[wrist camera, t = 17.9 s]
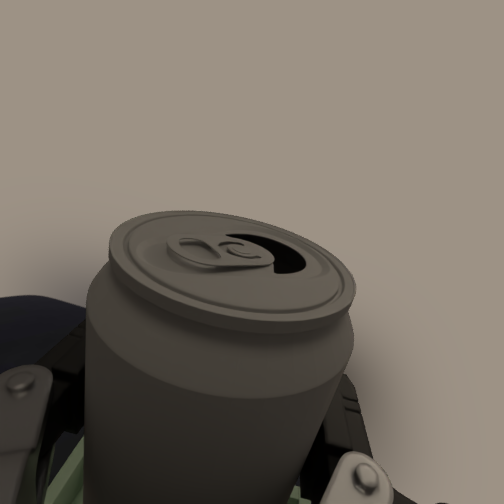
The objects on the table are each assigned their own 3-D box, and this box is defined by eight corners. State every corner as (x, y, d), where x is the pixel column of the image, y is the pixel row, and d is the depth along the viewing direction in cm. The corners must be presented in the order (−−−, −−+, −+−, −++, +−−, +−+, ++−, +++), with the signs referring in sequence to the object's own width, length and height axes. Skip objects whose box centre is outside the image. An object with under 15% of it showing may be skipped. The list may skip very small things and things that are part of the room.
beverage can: (291, 570, 11) (431, 295, 7) (102, 748, 7) (149, 383, 3) (211, 427, 16) (265, 206, 11) (68, 492, 12) (66, 196, 8)
